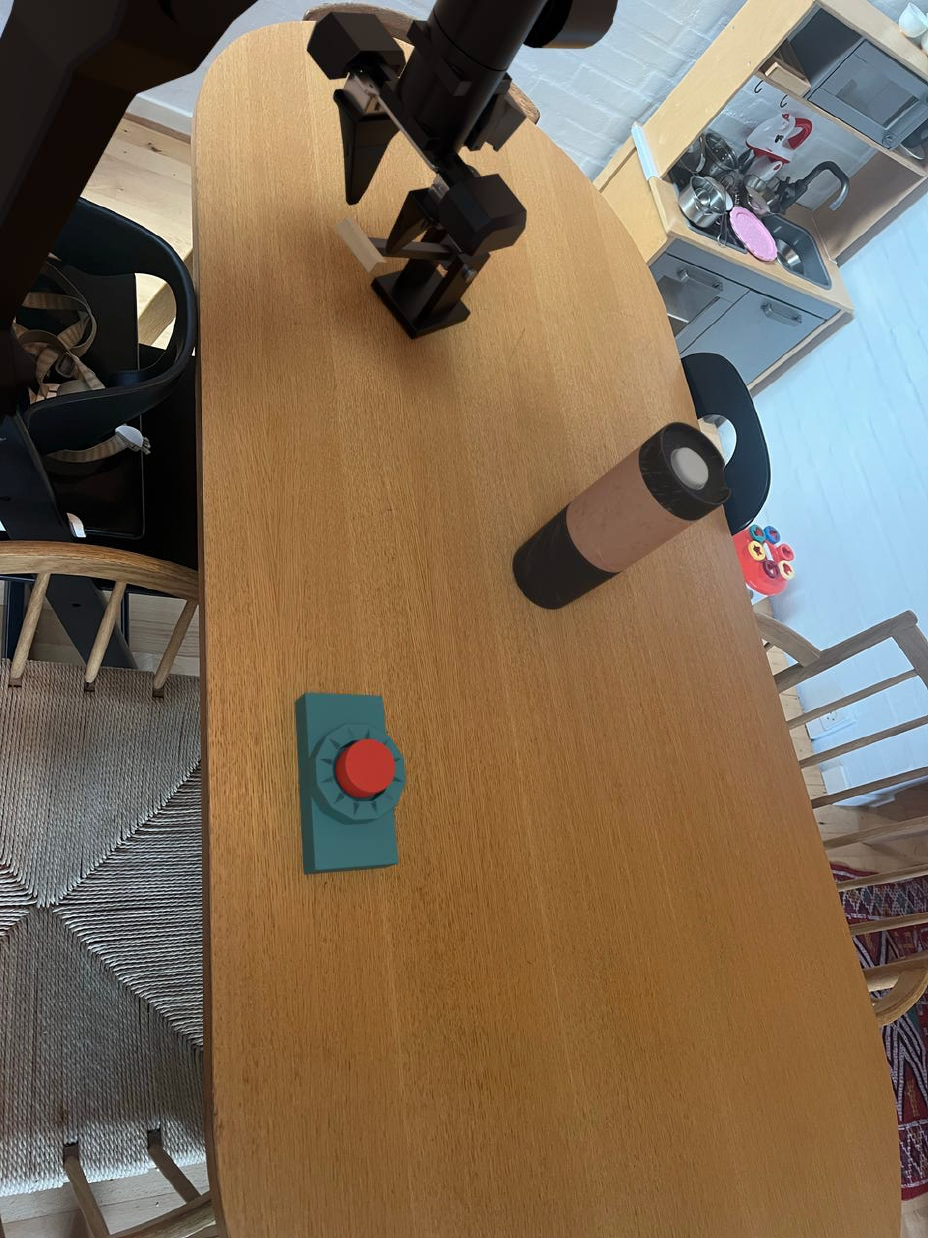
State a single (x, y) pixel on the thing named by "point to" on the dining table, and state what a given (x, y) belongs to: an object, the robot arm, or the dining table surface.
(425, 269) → the switch bracket
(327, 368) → the dining table surface
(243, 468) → the dining table surface
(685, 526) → the travel mug
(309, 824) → the button block
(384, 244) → the lever
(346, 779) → the button
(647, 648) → the dining table surface
